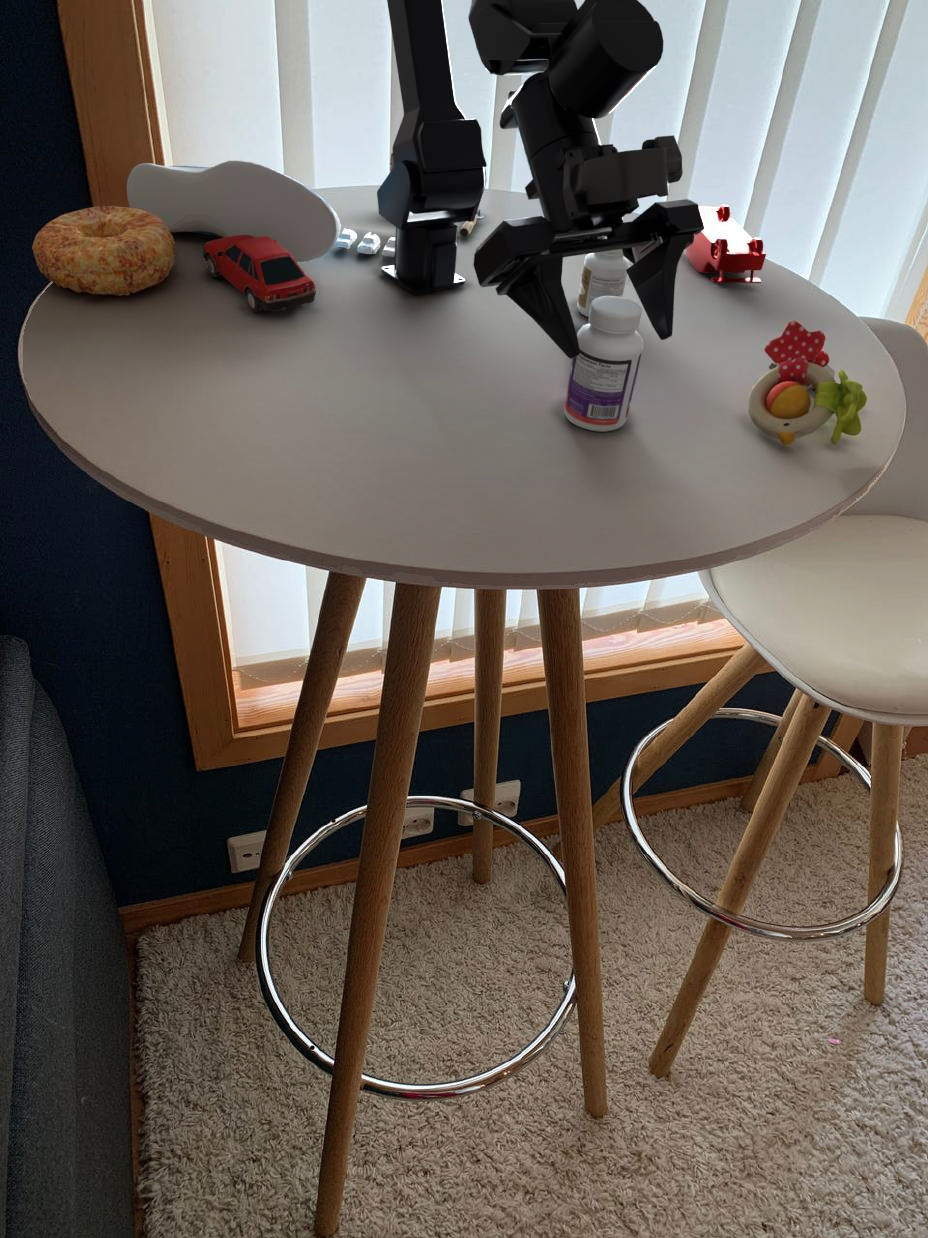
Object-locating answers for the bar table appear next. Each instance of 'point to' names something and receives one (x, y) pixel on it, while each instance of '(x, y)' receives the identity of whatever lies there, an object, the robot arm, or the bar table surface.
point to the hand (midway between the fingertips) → (622, 347)
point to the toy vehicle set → (365, 243)
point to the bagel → (105, 250)
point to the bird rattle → (803, 390)
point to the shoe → (237, 204)
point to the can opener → (469, 225)
